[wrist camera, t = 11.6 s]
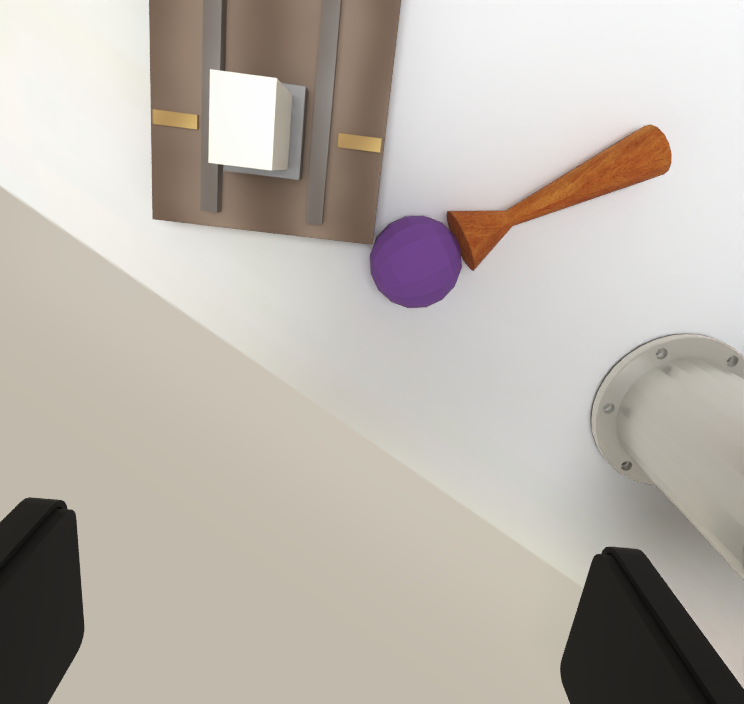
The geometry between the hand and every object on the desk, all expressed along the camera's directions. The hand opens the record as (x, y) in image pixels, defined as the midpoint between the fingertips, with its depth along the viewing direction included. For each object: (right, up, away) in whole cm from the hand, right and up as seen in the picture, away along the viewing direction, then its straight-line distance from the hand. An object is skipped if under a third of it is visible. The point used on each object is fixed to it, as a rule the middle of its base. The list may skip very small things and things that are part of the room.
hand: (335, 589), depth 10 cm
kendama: (+10, +14, +28) cm, 33 cm away
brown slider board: (-5, +23, +24) cm, 34 cm away
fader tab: (-6, +18, +22) cm, 29 cm away
